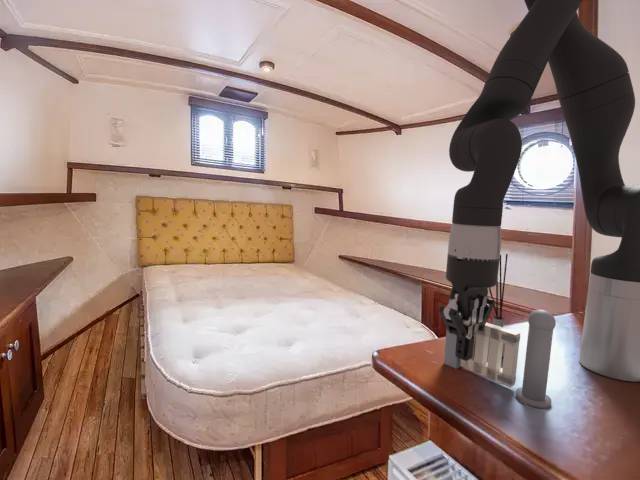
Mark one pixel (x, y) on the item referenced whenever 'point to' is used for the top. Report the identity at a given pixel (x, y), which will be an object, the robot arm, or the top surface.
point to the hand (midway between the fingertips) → (463, 357)
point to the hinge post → (537, 360)
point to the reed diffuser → (499, 320)
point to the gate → (495, 354)
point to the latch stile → (452, 351)
